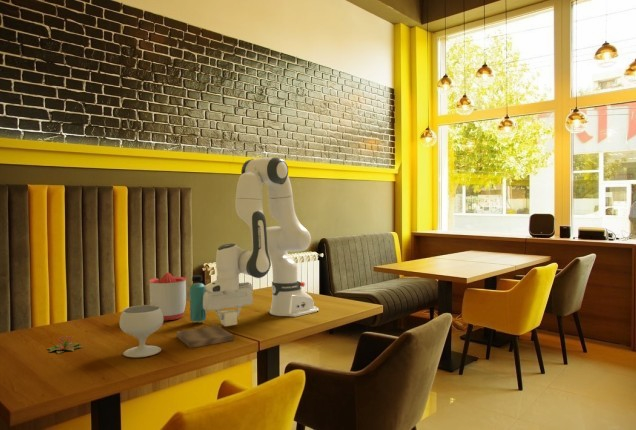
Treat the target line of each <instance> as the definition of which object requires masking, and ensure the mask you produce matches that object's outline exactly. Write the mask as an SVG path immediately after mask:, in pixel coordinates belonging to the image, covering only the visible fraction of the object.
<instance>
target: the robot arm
mask: <svg viewBox="0 0 636 430" xmlns="http://www.w3.org/2000/svg"><path fill="white" fill-rule="evenodd" d="M288 174H289V166H288V164H287V162H286V161H285V159H283V158H279V157H259V158H256V159H255V158H252V159H248V160H246V161H245V162H244V163H243V164H242V167H241V174H240V175H239V177H238V181H237V185H236V192H235V203H234V204H235V211H236V213H235V214H237V216H238V217H239V219H240V220H242V221H243V222H244V223H246V225H247V227H248V228H249V230H250V235H251V250H247V249H244V248H242V247H240V246H238V245H236V244H235V243H225V244H222V245H220V246H218V248H217V249H216V255H215V268H216V271H217V272H216V280H214V281H212V282H209V283H207V284H206V285H205V284H204V285H205V293H204V296H203V308H204V309H205V310H206V312H212V311H215V312H216V314H217V315H218V321H221V320H224V316H223V315H221V311H222V310H225V309H232V308H236V310H235V311H236V312H237V319H238V318H240V313H241V310H242V307H245V306H250V305H253V302H254V297H253V285H252V283H250V282H247V281H246V282H240V274H244V275H248V276H251V277H252V278H256V279H261V278H263V277H265V276H266V275H268V273H269V271H270V269H271V268H272V281H271V294H272V297H271V298H272V300H271V307H270V310H269V314H270V315H272V316H277V317H292V318H293V317H294V318H295V317H299V316H304V315H309V314H312V313H317V311H318V312H319V311H320V310H319V307H317V306H316V305H314V304H315V303H314V299H313V297H312V296H311V295H310V294H308V293H307V292H306V291H305V290H303V289H302V288H304V287H305V286H306V283H305V282H304V281H298V265H297V263H296V261H295V260H293V259H292V258H291V257H290V255H289V253H288V252H302V251H306V250H307V249H309V247H310V245H311V242H312V235H311V233H310V231H309V230H308V229H307V228H306V227H305V226H304V225H302V223H301V222H300V221H299V218H298V217H297V214H296V210H295V205H294V204H295V202H294V195H293V188H292V182H291V180H290V176H289V175H288ZM264 185H266V188H267V200H268V201H267V202H268V213H269V216H270V217H271V218H272V219H274V220H276V221H277V222H278V224H279V226H276V225H275V226H269V227H267V220H266V217H265V214H264V208H263V205H264V204H263V203H264V202H263V201H264V200H263V199H264V192H263V191H264V190H263V188H264ZM301 287H302V288H301Z"/></svg>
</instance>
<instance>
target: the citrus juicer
mask: <svg viewBox="0 0 636 430" xmlns="http://www.w3.org/2000/svg"><path fill="white" fill-rule="evenodd" d="M148 282H149V302H150V304H149V305H155V306H158V307H160V309H161V311H162V314H163V322H165V321H166V322H167V321H172V320H180V319H181V318H182V317H184V313H185V308H186V303H187V278H186V277H184V276H173V275H172V274H171V273H170V272H166V273H164V274H163V276H162V277H161V278H160V280H159V278H157V277H156V278H155V277H154V278H150V279H149V280H148Z"/></svg>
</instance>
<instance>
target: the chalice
mask: <svg viewBox="0 0 636 430" xmlns="http://www.w3.org/2000/svg"><path fill="white" fill-rule="evenodd" d="M163 324H164V321H163V314H162V311H161V309H160V307H158V306H155V305H150V304H142V305H134V306H129V307H126V308H124V309H123V310H122V312H121V314H120V317H119V327H120V329H121V331H122V332H123V333H125V334H128V335H131V336H132V337H135V338H136V339H137V340H138V342H139V344H138V346H135V347H130V348H128V349H125V351H123V353H122V355H123V356H125V357H128V358H145V357H149V356H154V355H156V354H157V355H158V354H159V353H160V352H161V351H162V348H161V347H159V346H157V345H147V344H146V341H147V338H148V337H149V336H150V335H152V334H154V333H155V332H157V331H158V330H159V329H160V328H161V327H162V326H163Z"/></svg>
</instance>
